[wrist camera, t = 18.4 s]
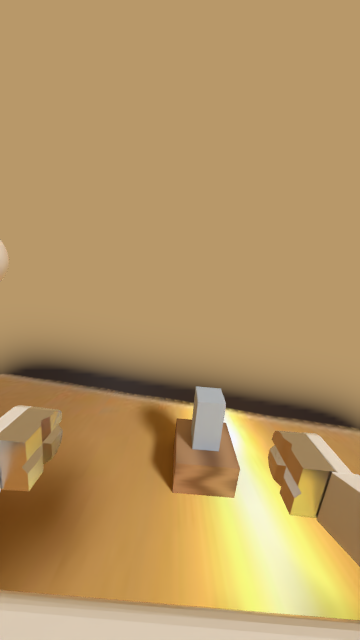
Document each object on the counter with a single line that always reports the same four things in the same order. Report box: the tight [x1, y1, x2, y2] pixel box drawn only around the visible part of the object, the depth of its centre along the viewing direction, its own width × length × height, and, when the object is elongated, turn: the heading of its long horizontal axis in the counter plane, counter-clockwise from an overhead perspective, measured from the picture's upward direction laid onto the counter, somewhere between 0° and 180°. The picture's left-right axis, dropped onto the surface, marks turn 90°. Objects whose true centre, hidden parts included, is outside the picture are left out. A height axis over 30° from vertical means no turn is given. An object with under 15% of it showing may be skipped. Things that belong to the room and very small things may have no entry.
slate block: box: [191, 387, 226, 451], centre depth 35 cm, size 4×4×9 cm
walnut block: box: [172, 419, 240, 498], centre depth 37 cm, size 10×10×6 cm
